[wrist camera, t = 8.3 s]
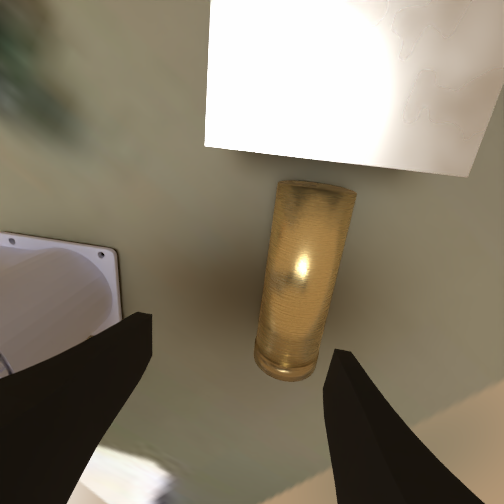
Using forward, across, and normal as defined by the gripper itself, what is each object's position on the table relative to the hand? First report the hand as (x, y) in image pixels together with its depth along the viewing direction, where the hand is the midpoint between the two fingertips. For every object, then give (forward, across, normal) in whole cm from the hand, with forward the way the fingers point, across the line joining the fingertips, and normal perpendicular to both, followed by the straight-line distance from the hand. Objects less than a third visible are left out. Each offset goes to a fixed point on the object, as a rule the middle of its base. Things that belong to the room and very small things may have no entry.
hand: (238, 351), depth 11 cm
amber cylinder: (+8, -3, 0) cm, 9 cm away
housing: (+9, -2, -11) cm, 15 cm away
